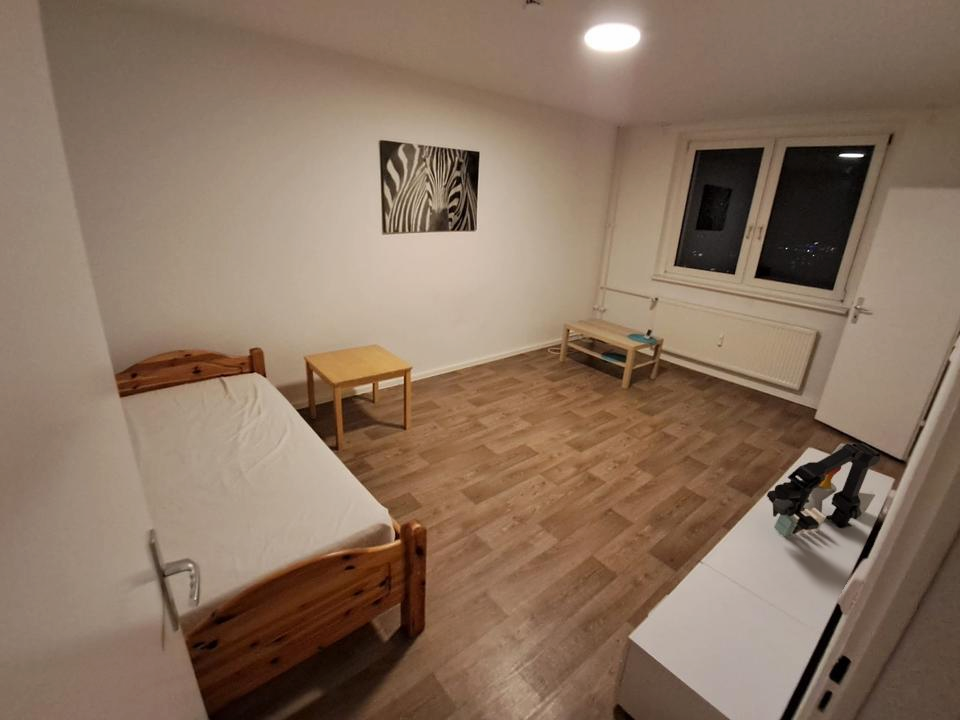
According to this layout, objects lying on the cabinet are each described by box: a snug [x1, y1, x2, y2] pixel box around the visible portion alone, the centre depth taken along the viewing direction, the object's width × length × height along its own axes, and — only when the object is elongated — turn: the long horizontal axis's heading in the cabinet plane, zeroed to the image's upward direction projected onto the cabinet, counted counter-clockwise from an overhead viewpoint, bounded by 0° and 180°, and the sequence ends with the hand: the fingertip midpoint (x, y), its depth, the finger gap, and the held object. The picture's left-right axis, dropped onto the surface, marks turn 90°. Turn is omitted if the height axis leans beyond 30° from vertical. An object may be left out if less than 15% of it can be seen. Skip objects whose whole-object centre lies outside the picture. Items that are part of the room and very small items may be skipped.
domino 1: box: [773, 514, 795, 538], centre depth 175 cm, size 2×5×8 cm, turn 14°
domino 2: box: [788, 514, 799, 536], centre depth 176 cm, size 2×5×8 cm, turn 14°
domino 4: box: [803, 509, 818, 534], centre depth 178 cm, size 2×5×8 cm, turn 14°
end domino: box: [810, 508, 827, 533], centre depth 179 cm, size 2×5×8 cm, turn 14°
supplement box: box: [858, 482, 876, 518], centre depth 190 cm, size 7×7×13 cm
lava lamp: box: [801, 443, 847, 514], centre depth 182 cm, size 9×9×35 cm
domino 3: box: [797, 512, 806, 535], centre depth 177 cm, size 2×5×8 cm, turn 14°
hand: (783, 524), depth 175 cm, fingers open, 9 cm apart
